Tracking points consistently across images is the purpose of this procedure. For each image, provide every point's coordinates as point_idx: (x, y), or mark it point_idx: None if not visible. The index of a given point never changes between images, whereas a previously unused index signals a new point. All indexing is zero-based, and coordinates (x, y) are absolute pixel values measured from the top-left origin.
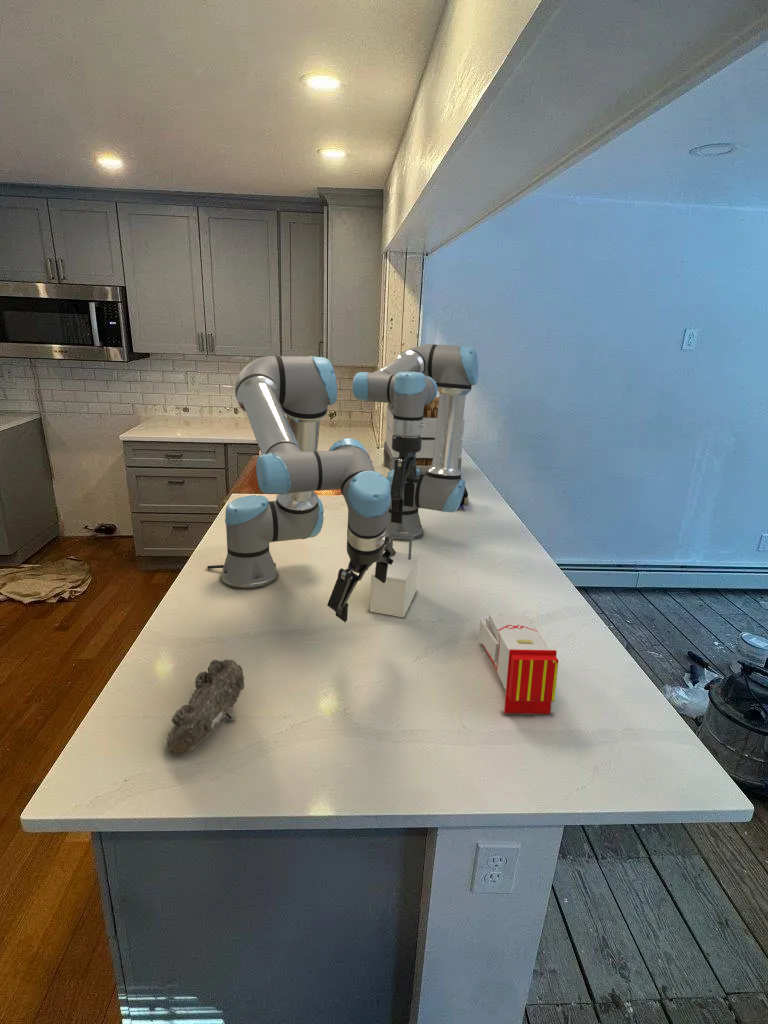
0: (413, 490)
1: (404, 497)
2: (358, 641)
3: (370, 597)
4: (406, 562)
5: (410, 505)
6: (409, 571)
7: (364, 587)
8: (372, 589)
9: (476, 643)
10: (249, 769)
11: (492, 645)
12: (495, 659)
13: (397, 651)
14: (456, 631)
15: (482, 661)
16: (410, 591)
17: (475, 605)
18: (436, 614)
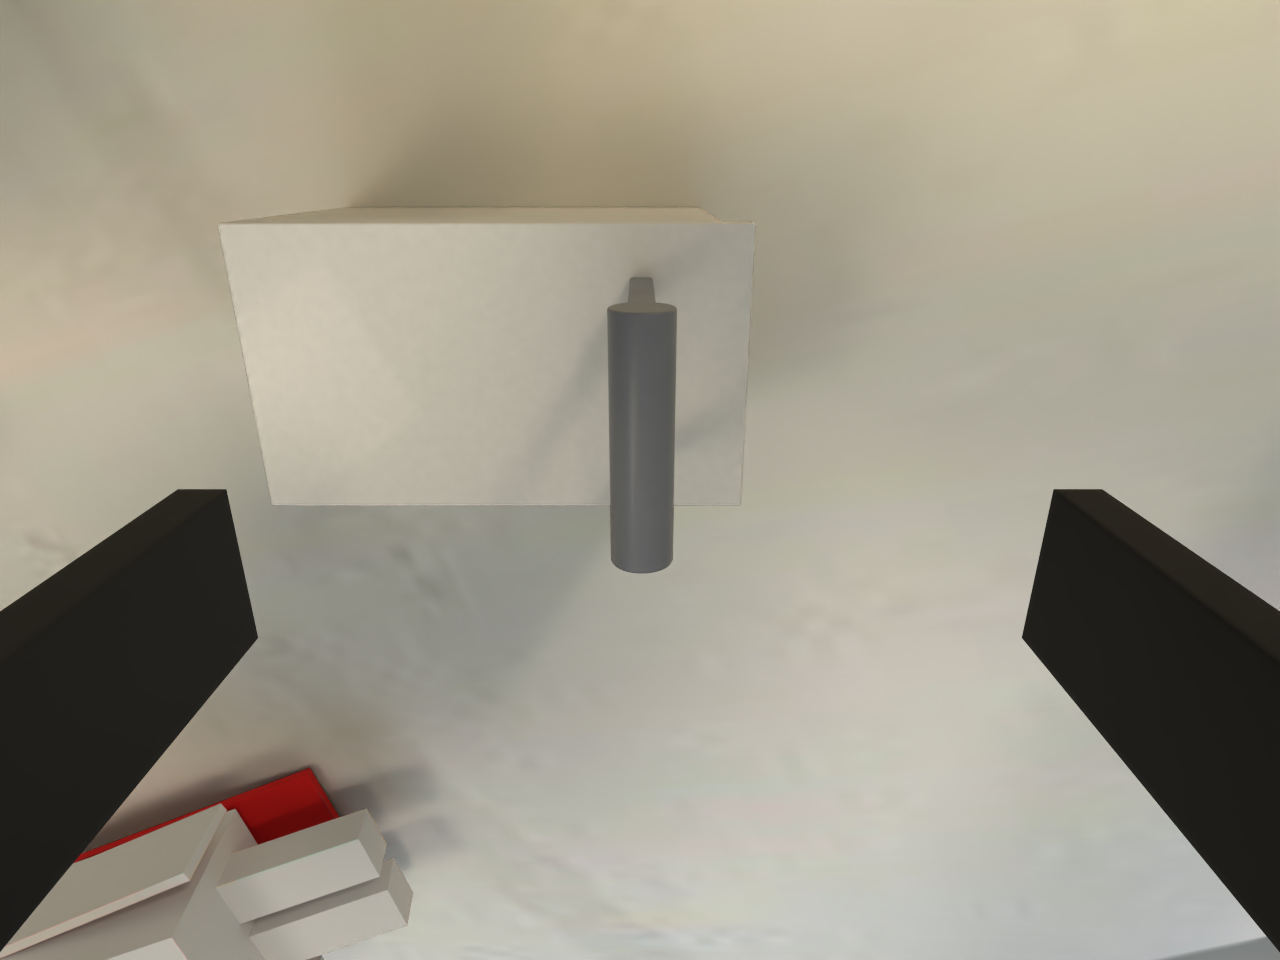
0: (1218, 873)
1: (1147, 578)
2: (19, 242)
3: (307, 212)
4: (569, 444)
5: (1041, 614)
6: (417, 500)
7: (642, 66)
8: None
9: (312, 745)
10: None
11: (32, 915)
12: None
13: (58, 456)
14: (367, 665)
15: (195, 776)
16: None
17: (645, 711)
18: (481, 561)
